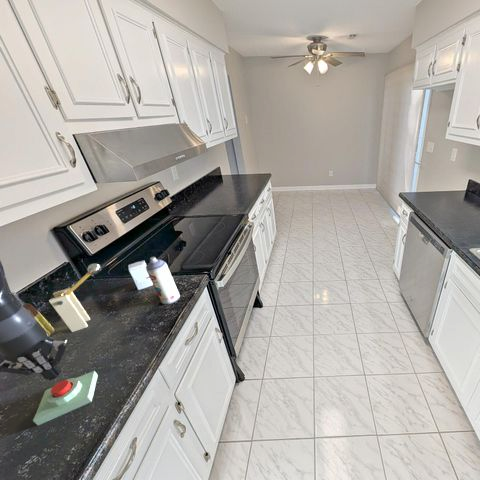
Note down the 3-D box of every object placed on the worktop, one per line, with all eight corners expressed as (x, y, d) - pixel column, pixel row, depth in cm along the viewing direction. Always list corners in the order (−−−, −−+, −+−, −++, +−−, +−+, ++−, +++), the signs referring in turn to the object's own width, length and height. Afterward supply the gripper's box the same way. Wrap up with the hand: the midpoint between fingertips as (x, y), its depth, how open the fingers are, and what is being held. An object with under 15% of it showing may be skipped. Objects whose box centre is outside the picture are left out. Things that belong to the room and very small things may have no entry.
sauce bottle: (48, 330, 93) (14, 287, 83) (61, 332, 92) (28, 289, 82) (27, 345, 87) (-13, 301, 78) (40, 347, 86) (2, 303, 77)
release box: (98, 375, 75) (91, 366, 73) (91, 401, 68) (84, 393, 66) (49, 395, 71) (41, 386, 69) (37, 425, 64) (28, 417, 62)
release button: (73, 381, 70) (70, 377, 69) (70, 392, 67) (66, 388, 66) (56, 388, 68) (53, 384, 68) (52, 400, 66) (48, 396, 65)
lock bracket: (100, 315, 98) (79, 283, 90) (96, 329, 92) (73, 295, 84) (70, 325, 94) (46, 292, 87) (64, 340, 88) (37, 306, 81)
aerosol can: (158, 300, 104) (139, 259, 94) (175, 291, 108) (158, 251, 99) (165, 307, 100) (145, 265, 90) (182, 297, 104) (165, 256, 95)
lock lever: (104, 265, 90) (94, 259, 88) (103, 270, 88) (91, 264, 85) (66, 300, 89) (54, 295, 87) (63, 306, 86) (51, 301, 84)
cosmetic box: (139, 292, 109) (127, 269, 104) (138, 287, 113) (127, 264, 107) (155, 286, 112) (144, 264, 106) (154, 282, 116) (144, 259, 110)
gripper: (55, 308, 63) (89, 353, 72) (-20, 331, 58) (27, 377, 66) (44, 327, 58) (83, 375, 66) (-40, 355, 52) (14, 403, 60)
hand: (55, 376), depth 66 cm, fingers closed
